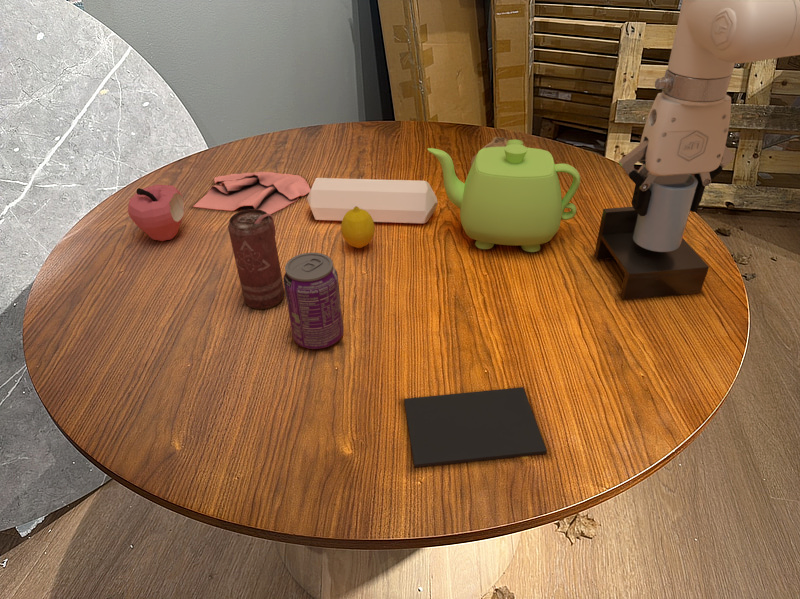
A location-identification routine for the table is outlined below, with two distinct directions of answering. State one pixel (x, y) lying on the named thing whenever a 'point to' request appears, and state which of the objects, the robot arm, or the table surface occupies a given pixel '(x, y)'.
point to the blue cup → (666, 213)
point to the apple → (157, 211)
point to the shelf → (647, 260)
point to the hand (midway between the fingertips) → (664, 208)
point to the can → (256, 258)
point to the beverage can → (313, 300)
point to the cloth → (254, 192)
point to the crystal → (373, 199)
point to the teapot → (510, 195)
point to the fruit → (357, 227)
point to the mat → (472, 427)
